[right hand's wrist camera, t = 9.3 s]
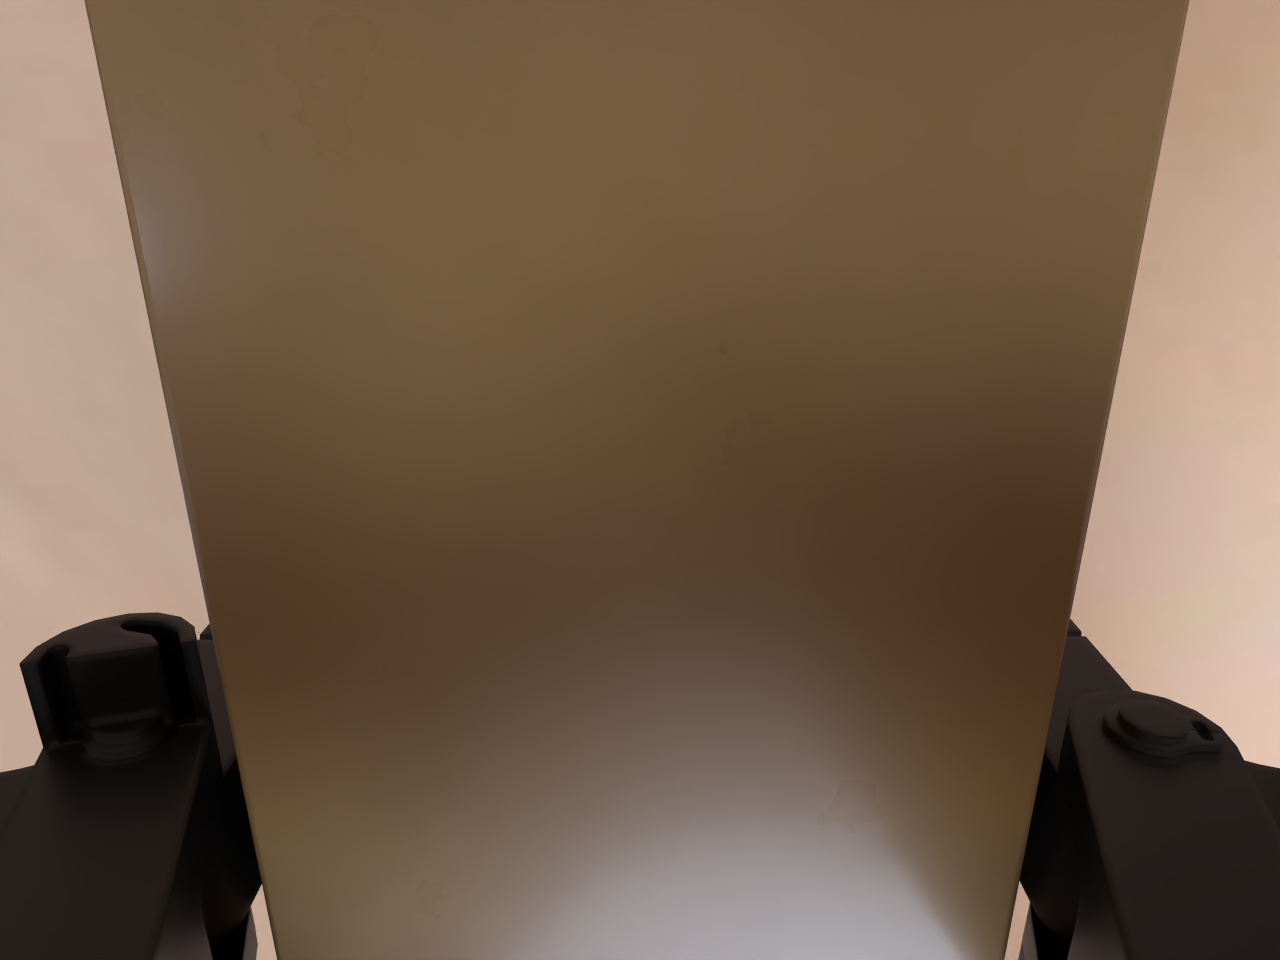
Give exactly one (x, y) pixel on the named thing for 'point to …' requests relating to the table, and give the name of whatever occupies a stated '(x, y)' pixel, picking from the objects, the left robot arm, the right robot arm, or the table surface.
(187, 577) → the table surface
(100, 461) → the table surface
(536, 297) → the beam
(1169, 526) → the table surface
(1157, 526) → the table surface
